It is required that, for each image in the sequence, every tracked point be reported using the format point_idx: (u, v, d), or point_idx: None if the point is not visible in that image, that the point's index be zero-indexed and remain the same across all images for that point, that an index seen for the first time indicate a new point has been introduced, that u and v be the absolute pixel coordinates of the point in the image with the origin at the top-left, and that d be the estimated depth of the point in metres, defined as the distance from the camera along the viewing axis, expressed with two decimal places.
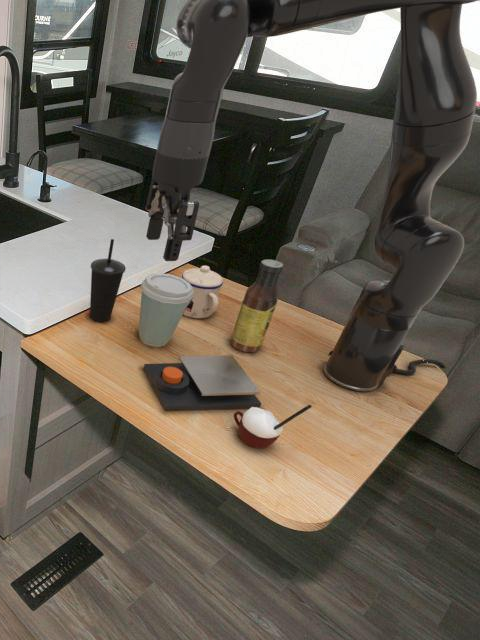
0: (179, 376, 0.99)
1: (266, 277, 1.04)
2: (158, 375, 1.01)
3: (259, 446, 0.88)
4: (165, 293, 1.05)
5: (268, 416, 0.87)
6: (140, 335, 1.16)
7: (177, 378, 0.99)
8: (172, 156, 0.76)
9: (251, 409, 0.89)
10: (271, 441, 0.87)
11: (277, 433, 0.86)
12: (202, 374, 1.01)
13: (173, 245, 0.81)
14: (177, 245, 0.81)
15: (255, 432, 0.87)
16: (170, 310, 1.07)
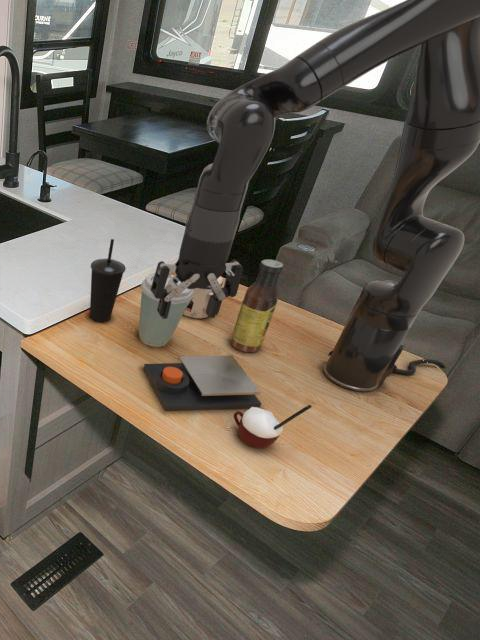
0: (179, 376, 0.99)
1: (266, 277, 1.04)
2: (158, 375, 1.01)
3: (259, 446, 0.88)
4: None
5: (268, 416, 0.87)
6: (140, 335, 1.16)
7: (177, 378, 0.99)
8: None
9: (251, 409, 0.89)
10: (271, 441, 0.87)
11: (277, 433, 0.86)
12: (202, 374, 1.01)
13: (159, 300, 0.92)
14: None
15: (255, 432, 0.87)
16: (170, 310, 1.07)
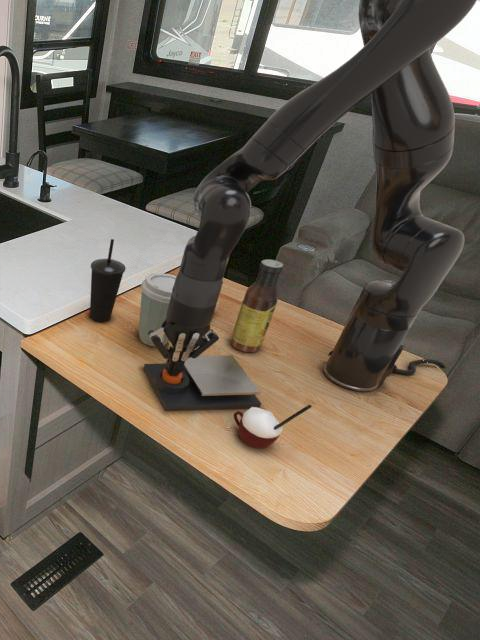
0: (179, 377, 0.99)
1: (266, 277, 1.04)
2: (158, 375, 1.01)
3: (259, 446, 0.88)
4: (165, 293, 1.05)
5: (268, 416, 0.87)
6: (140, 335, 1.16)
7: (177, 379, 0.99)
8: None
9: (251, 409, 0.89)
10: (271, 441, 0.87)
11: (277, 433, 0.86)
12: (202, 374, 1.01)
13: (167, 359, 0.99)
14: None
15: (255, 432, 0.87)
16: None
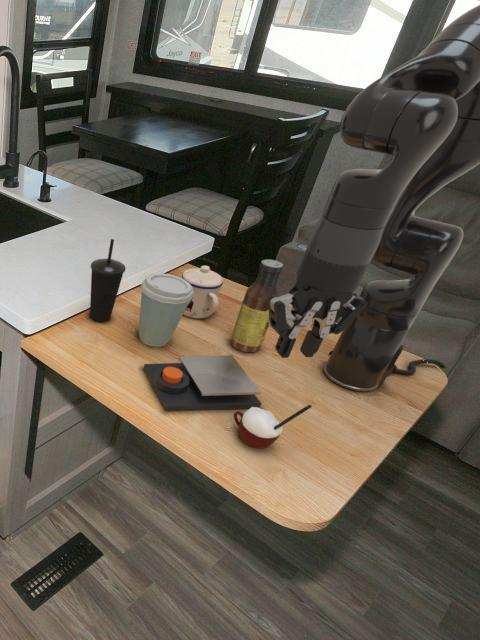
0: (179, 376, 0.99)
1: (266, 277, 1.04)
2: (158, 375, 1.01)
3: (259, 446, 0.88)
4: (165, 293, 1.05)
5: (268, 416, 0.87)
6: (140, 335, 1.16)
7: (177, 378, 0.99)
8: None
9: (251, 409, 0.89)
10: (271, 441, 0.87)
11: (277, 433, 0.86)
12: (202, 374, 1.01)
13: (280, 336, 0.78)
14: None
15: (255, 432, 0.87)
16: (170, 310, 1.07)
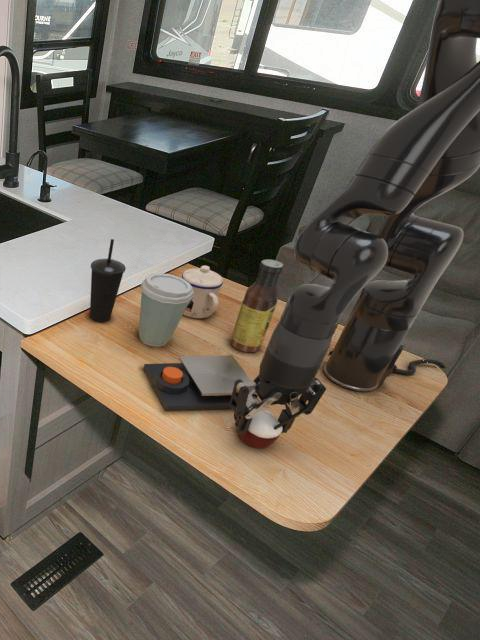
0: (179, 376, 0.99)
1: (266, 277, 1.04)
2: (158, 375, 1.01)
3: (259, 446, 0.88)
4: (165, 293, 1.05)
5: (268, 416, 0.87)
6: (140, 335, 1.16)
7: (177, 378, 0.99)
8: None
9: None
10: (271, 441, 0.87)
11: (277, 433, 0.86)
12: (202, 374, 1.01)
13: (238, 415, 0.87)
14: (241, 418, 0.87)
15: (255, 432, 0.87)
16: (170, 310, 1.07)
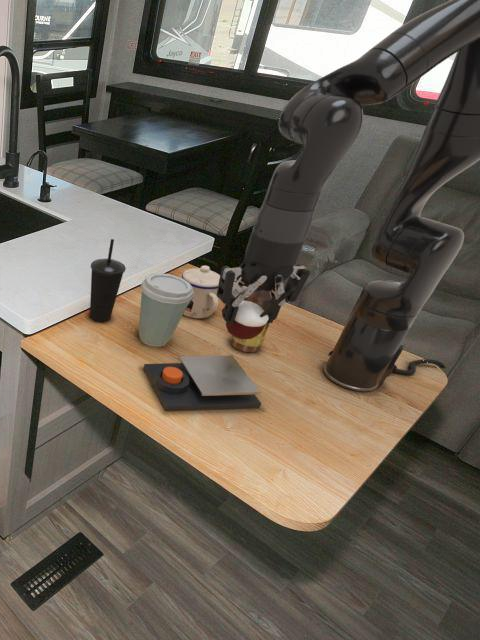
0: (179, 376, 0.99)
1: None
2: (158, 375, 1.01)
3: (246, 336, 0.90)
4: (165, 293, 1.05)
5: (255, 306, 0.89)
6: (140, 335, 1.16)
7: (177, 378, 0.99)
8: None
9: None
10: (257, 330, 0.89)
11: (263, 321, 0.88)
12: (202, 374, 1.01)
13: (225, 305, 0.89)
14: (228, 308, 0.89)
15: (242, 321, 0.89)
16: (170, 310, 1.07)
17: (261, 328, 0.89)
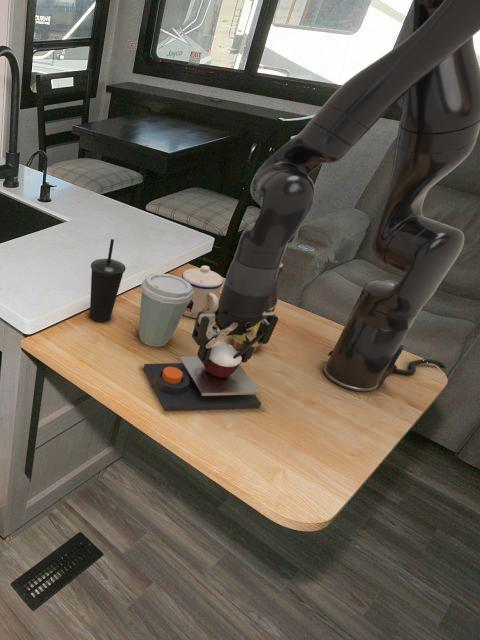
0: (179, 376, 0.99)
1: None
2: (158, 375, 1.01)
3: (221, 375, 0.98)
4: (165, 293, 1.05)
5: (229, 347, 0.97)
6: (140, 335, 1.16)
7: (177, 378, 0.99)
8: None
9: None
10: (231, 370, 0.97)
11: (236, 362, 0.96)
12: (202, 374, 1.01)
13: (200, 346, 0.97)
14: None
15: (217, 361, 0.97)
16: (170, 310, 1.07)
17: (235, 368, 0.97)
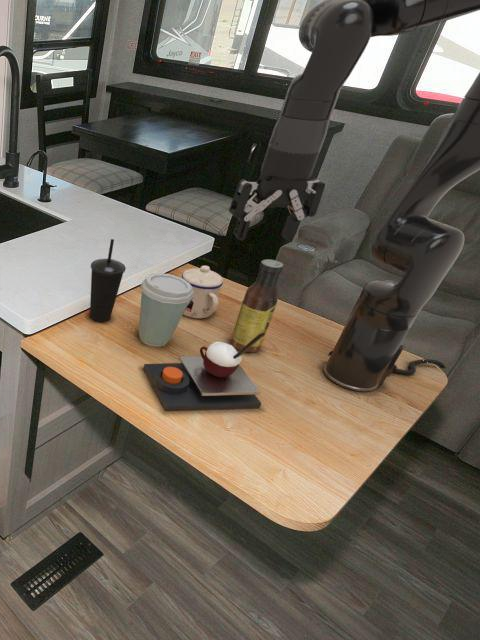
0: (179, 376, 0.99)
1: (266, 277, 1.04)
2: (158, 375, 1.01)
3: (221, 375, 0.98)
4: (165, 293, 1.05)
5: (229, 348, 0.97)
6: (140, 335, 1.16)
7: (177, 378, 0.99)
8: None
9: (214, 343, 1.00)
10: (231, 370, 0.97)
11: (236, 362, 0.96)
12: (202, 374, 1.01)
13: (237, 221, 0.92)
14: (240, 223, 0.92)
15: (217, 361, 0.97)
16: (170, 310, 1.07)
17: (235, 368, 0.97)
